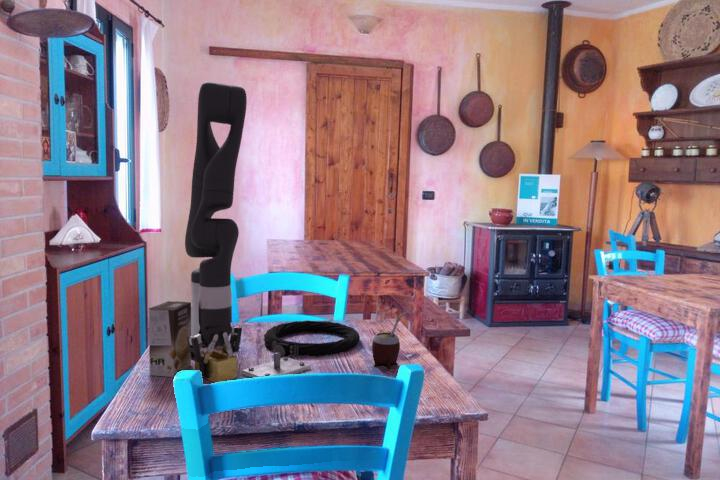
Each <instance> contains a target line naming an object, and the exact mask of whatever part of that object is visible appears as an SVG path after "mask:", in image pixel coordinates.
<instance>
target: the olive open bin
mask: <svg viewBox="0 0 720 480" xmlns="http://www.w3.org/2000/svg"><path fill="white" fill-rule="evenodd" d="M208 363H209V378H206V379H205V380H208V381H210V382H212V383H215V382H219V381H225V380H228V381H231V380H235V379H237V378H238V357H237V356H235V355H234V354H233V355H230V354H227V353H224V352H222V350H218V349H216V348H214V349H213V352H212V353H211V354H210V357H209V360H208ZM195 370H199V362H196V361H194V371H195ZM230 379H231V380H230ZM225 382H226V381H225Z"/></svg>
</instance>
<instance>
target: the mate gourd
mask: <svg viewBox="0 0 720 480" xmlns="http://www.w3.org/2000/svg"><path fill="white" fill-rule="evenodd" d="M408 312H409V310H406V311H404V312H403V313H401V314H400V315H399V316H398V317H397V318H395V319H396V320H395V322H394V323H395V324H394V326H393V328H392V331H391V332H378V333H377V334H375V335H374V337H373V338H372V344H371V350H372V358H373V362H374V364H373V367H374V368H381V367H382V368H383V367H384V368H386V369H387V370H388V371H390V370H392V367H395V366H398V362H397V360H398V357H399V354H400V348H401V344H400V339H399V336H397V334H395V332H396V329H397V326H398V324H399V322H400V320H401V318H402V317H403V316H404V315H406V314H407V313H408Z"/></svg>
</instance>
